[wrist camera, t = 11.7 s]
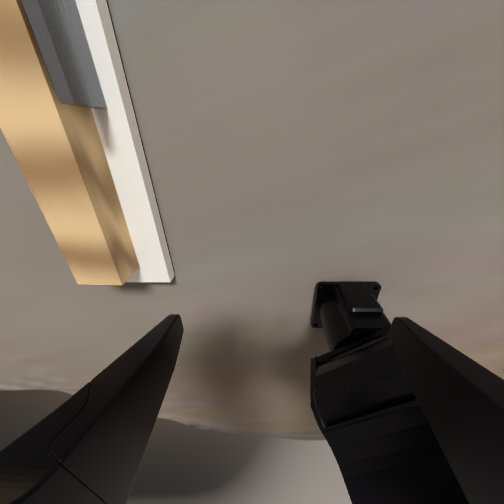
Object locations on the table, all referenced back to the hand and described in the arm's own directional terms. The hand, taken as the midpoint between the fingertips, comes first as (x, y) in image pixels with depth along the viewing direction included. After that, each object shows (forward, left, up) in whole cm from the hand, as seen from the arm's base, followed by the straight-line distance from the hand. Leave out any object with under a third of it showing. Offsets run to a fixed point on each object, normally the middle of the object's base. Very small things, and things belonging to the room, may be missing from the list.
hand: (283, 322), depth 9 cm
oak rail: (+5, +15, -11) cm, 19 cm away
